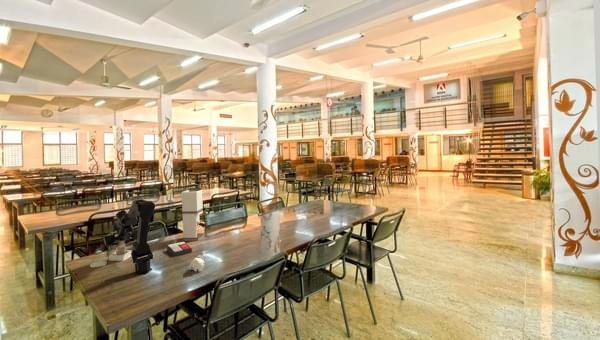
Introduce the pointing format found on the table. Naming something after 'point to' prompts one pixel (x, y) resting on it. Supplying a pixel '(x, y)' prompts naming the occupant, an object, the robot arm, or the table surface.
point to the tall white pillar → (191, 214)
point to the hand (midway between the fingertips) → (119, 245)
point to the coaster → (98, 264)
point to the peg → (120, 247)
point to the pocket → (120, 256)
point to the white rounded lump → (197, 263)
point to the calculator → (179, 249)
